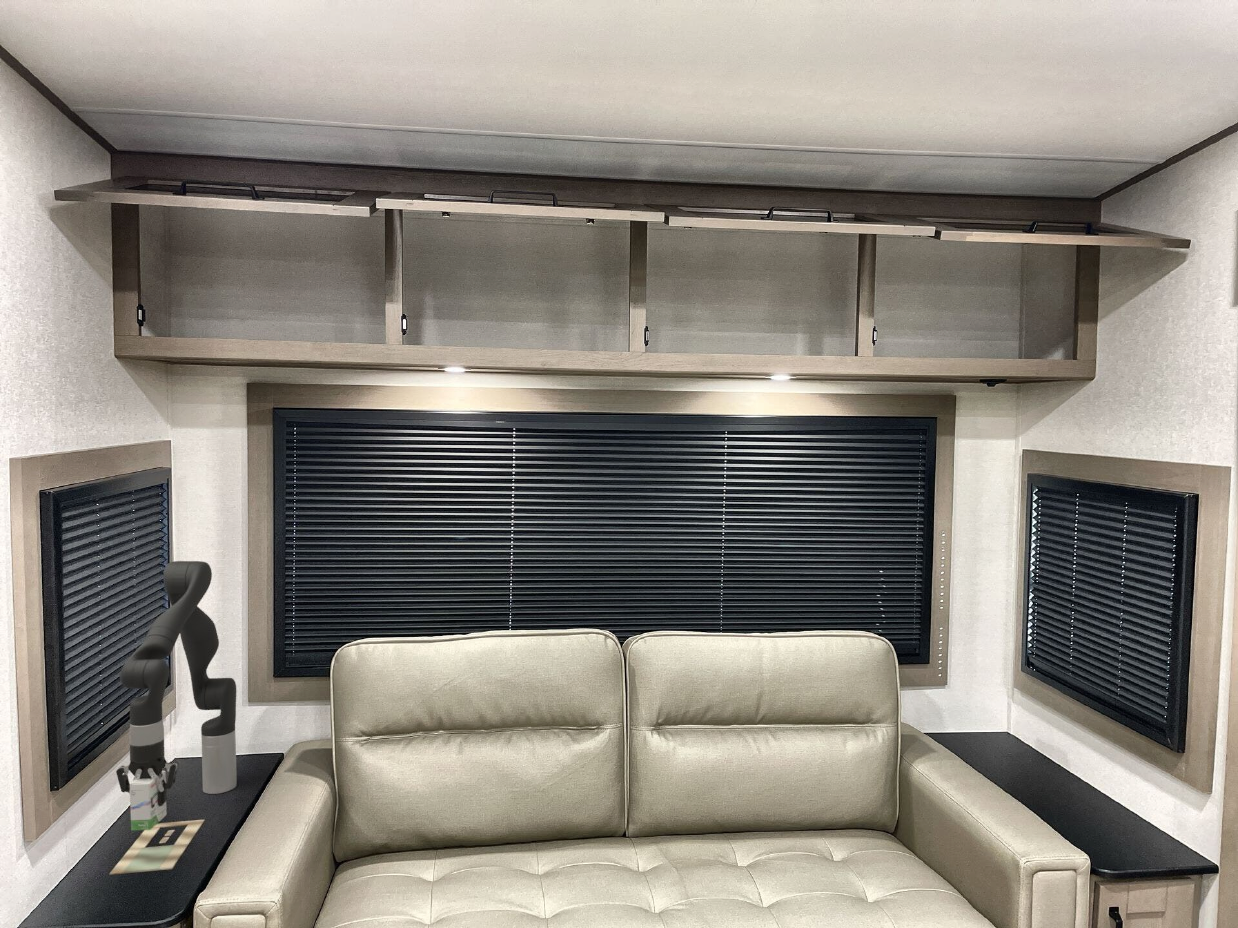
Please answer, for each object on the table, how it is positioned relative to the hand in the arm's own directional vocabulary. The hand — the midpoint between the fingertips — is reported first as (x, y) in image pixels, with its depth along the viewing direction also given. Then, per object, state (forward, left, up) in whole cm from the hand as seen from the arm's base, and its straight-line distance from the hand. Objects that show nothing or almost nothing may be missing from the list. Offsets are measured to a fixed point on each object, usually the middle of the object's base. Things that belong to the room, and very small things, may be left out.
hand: (148, 805), depth 209 cm
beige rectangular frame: (-6, 0, -14) cm, 15 cm away
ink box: (0, 0, -5) cm, 5 cm away
